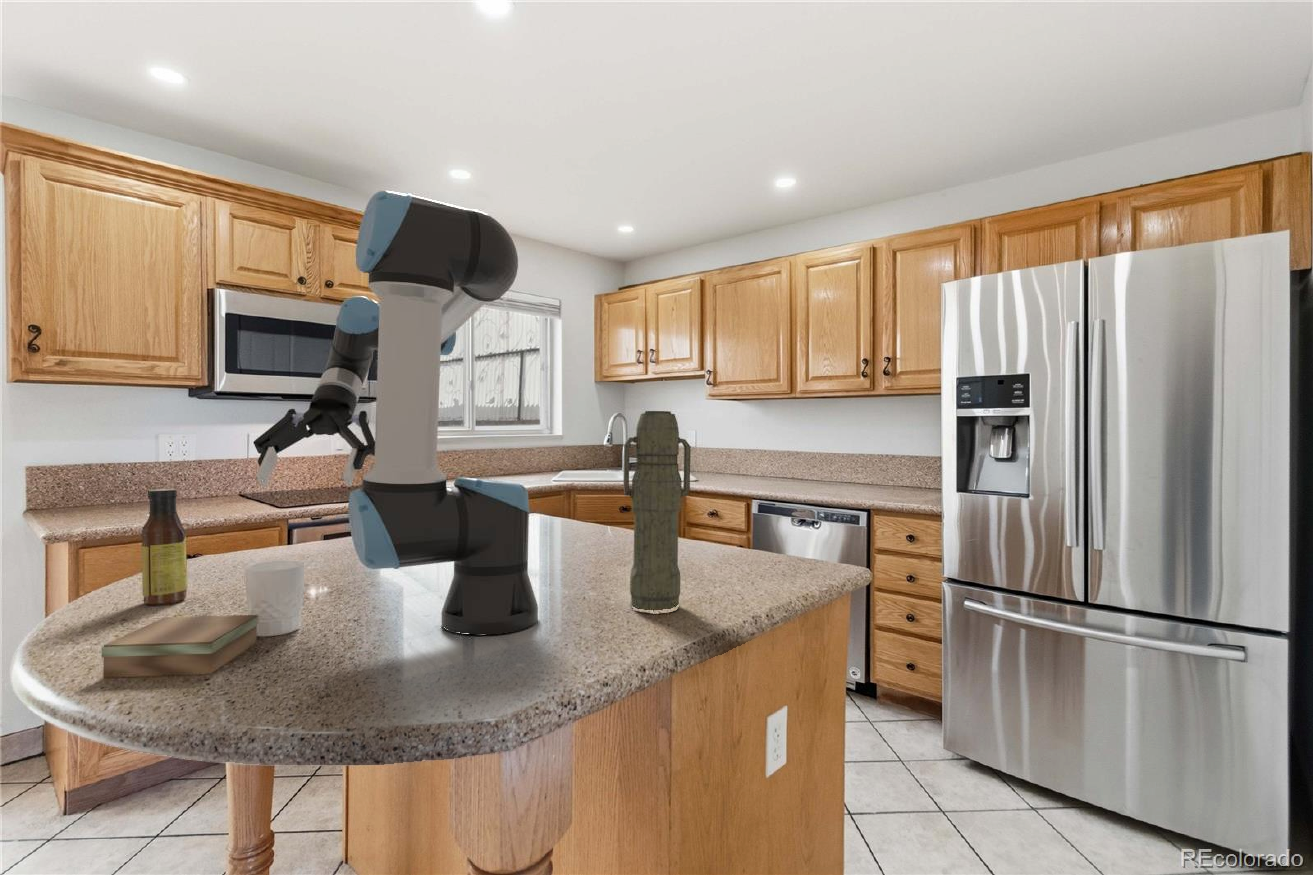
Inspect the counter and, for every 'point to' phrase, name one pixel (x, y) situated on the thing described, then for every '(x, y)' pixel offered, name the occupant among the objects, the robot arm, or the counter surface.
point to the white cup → (275, 595)
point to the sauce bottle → (163, 551)
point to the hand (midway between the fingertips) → (304, 481)
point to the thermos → (656, 509)
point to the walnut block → (180, 646)
